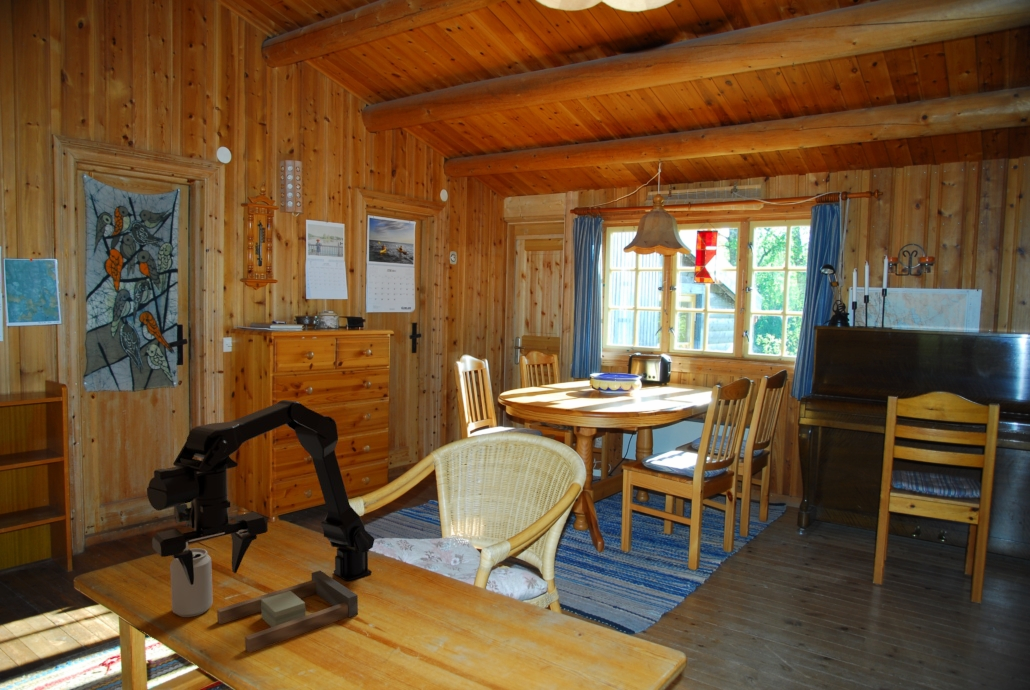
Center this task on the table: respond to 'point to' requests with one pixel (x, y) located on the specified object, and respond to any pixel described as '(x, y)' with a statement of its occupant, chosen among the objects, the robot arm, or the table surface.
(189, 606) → the can
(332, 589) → the bay
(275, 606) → the block
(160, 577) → the table surface
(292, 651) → the table surface
